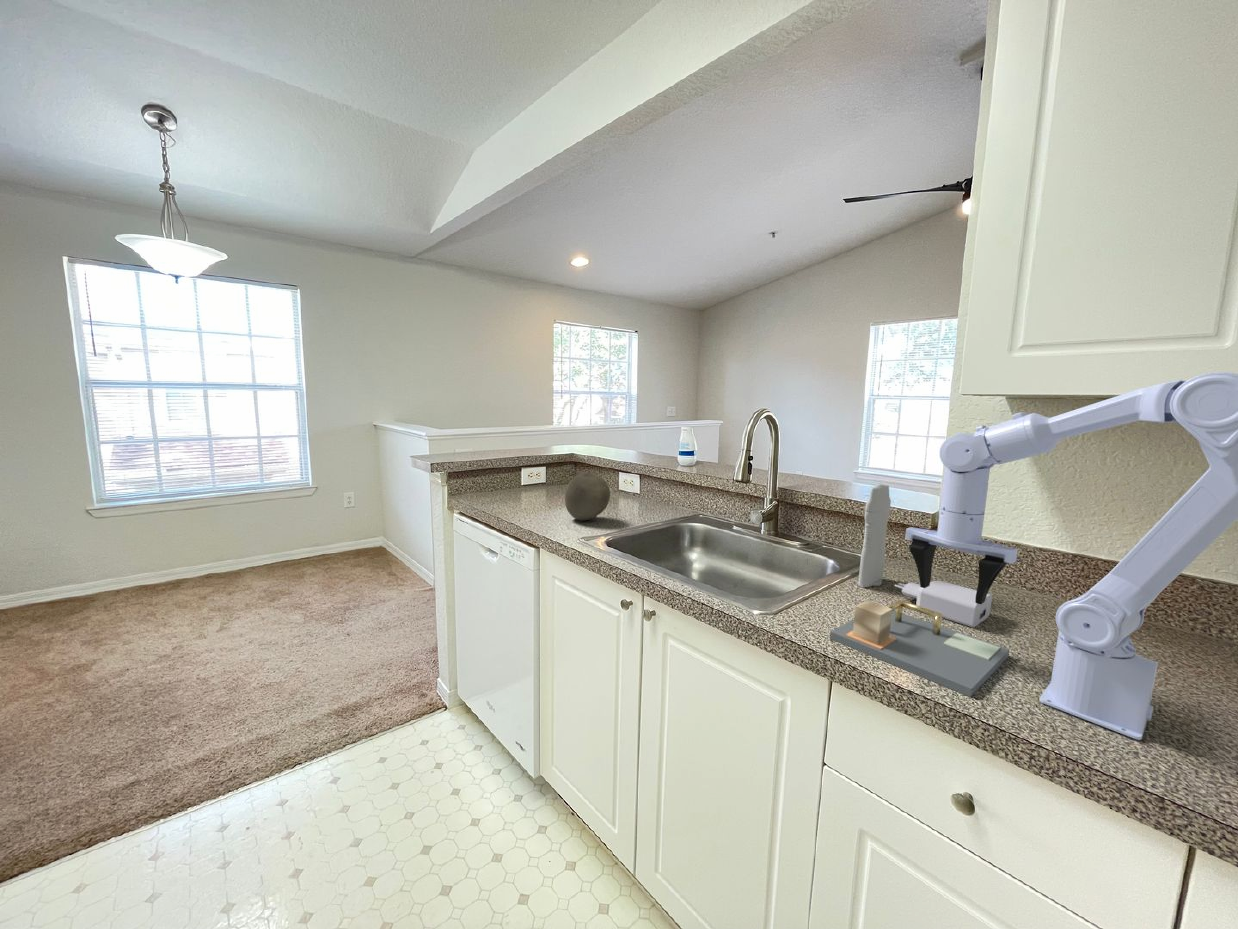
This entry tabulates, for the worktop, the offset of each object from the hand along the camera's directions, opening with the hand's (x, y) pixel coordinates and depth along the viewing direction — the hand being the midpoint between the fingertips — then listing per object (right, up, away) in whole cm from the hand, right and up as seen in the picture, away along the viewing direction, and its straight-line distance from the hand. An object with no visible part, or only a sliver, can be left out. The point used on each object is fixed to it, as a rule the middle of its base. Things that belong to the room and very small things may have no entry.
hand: (951, 594), depth 78 cm
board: (-4, -9, +2) cm, 10 cm away
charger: (+9, -8, +18) cm, 21 cm away
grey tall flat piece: (+3, -6, +30) cm, 31 cm away
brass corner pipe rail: (-4, -8, +4) cm, 10 cm away
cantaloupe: (-63, +3, +78) cm, 100 cm away
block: (-12, -8, +2) cm, 14 cm away
